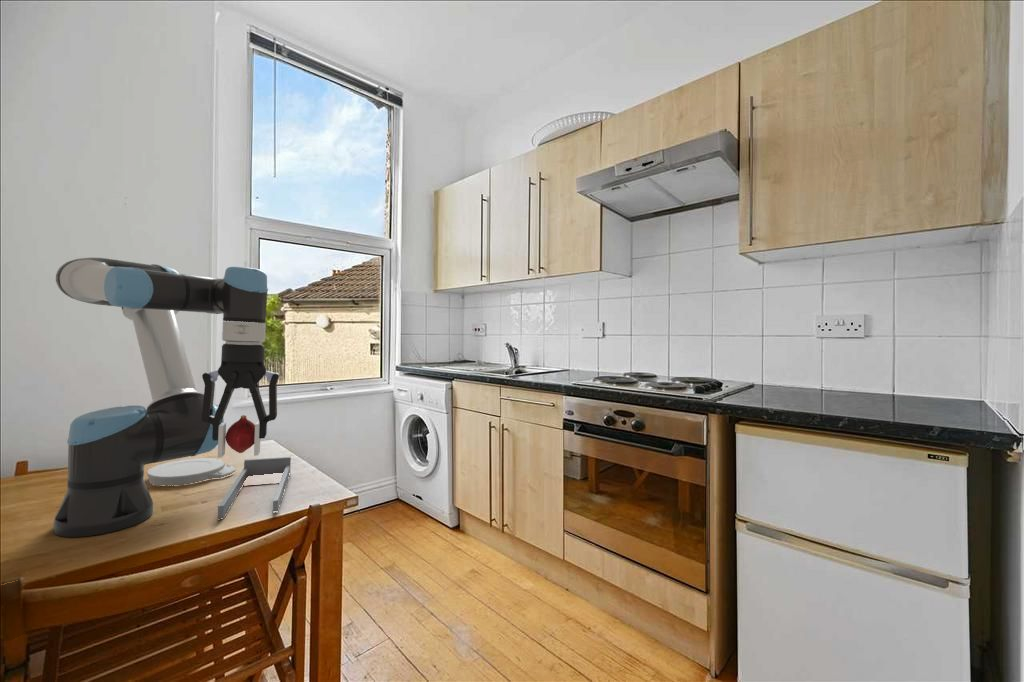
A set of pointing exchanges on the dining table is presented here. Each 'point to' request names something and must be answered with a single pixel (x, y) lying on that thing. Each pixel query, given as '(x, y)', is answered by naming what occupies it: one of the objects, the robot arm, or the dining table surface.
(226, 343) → the robot arm
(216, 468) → the lid
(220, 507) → the channel
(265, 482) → the dining table surface
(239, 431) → the onion
